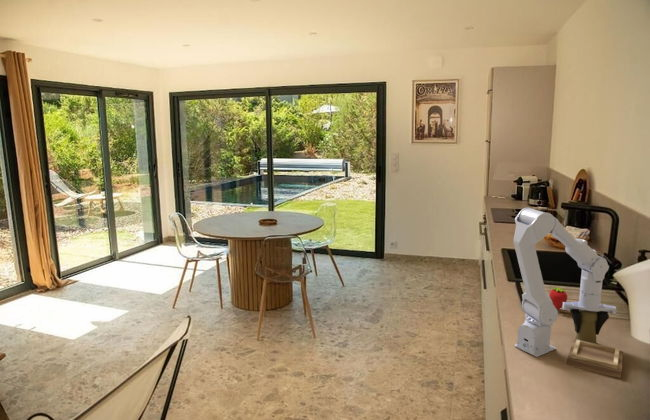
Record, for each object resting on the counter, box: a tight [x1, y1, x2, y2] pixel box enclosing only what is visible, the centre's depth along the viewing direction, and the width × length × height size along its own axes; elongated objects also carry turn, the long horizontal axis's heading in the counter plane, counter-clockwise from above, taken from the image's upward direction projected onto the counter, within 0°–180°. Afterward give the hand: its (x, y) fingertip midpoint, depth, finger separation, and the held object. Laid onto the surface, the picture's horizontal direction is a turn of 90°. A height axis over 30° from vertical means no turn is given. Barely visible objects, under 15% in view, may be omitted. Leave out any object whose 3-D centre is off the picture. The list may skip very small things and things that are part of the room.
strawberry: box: [548, 286, 568, 311], centre depth 164 cm, size 6×8×10 cm
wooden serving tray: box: [566, 339, 624, 379], centre depth 128 cm, size 13×13×3 cm
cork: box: [574, 310, 598, 344], centre depth 139 cm, size 6×6×11 cm
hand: (586, 332), depth 139 cm, fingers closed on cork, 5 cm apart
